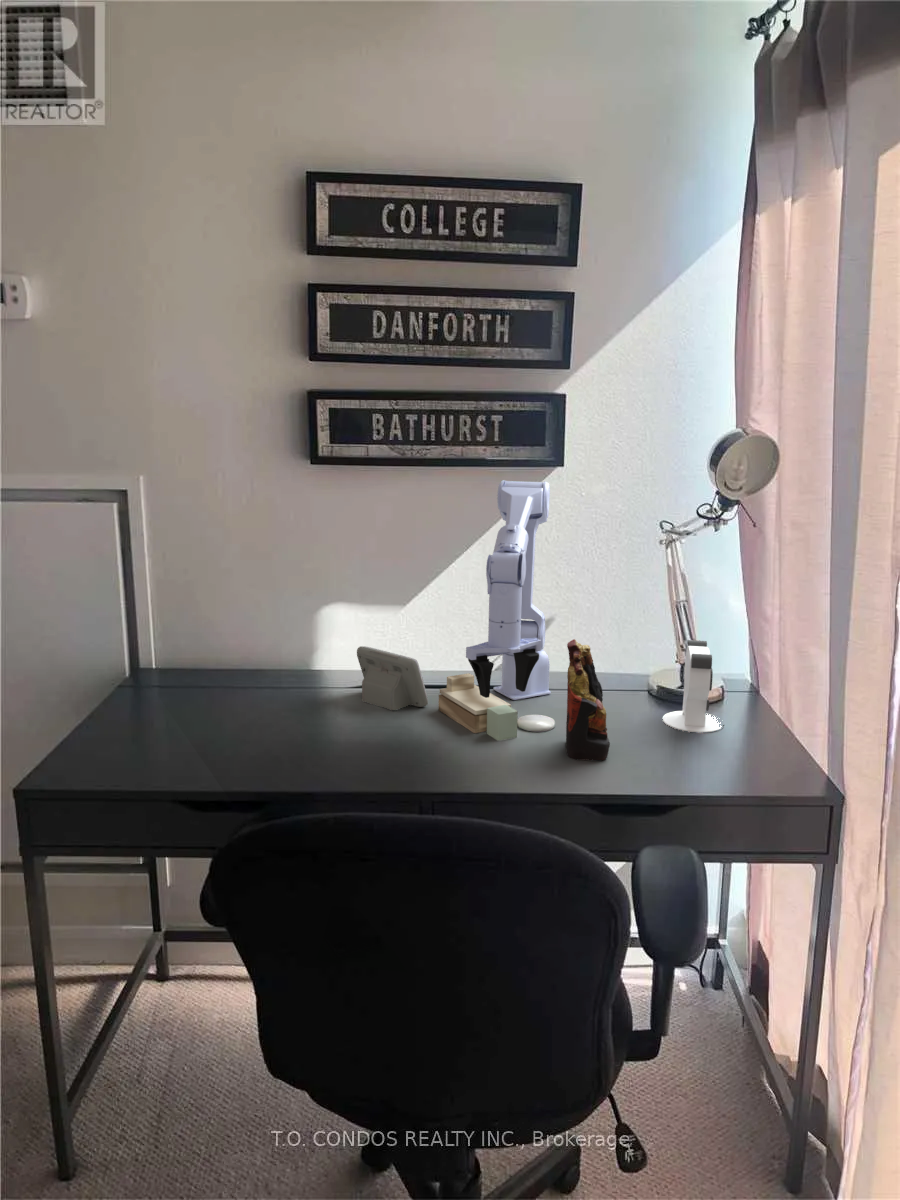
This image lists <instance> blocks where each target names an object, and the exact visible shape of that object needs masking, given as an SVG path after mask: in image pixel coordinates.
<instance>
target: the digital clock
mask: <svg viewBox="0 0 900 1200" xmlns="http://www.w3.org/2000/svg"><path fill="white" fill-rule="evenodd" d="M356 657H357V660H358V663H359V667H360V670H361V674H362V676H363V679H362V682H361V700H362V702H363V701H364V702H363V703H366V702H368V703H367V704H369V703H371V704H370V705H373V704H374V705H373V706H376V705H377V706H376V707H379V706H381V707H380V708H382V707H384V708H383V709H386V708H387V709H386V710H389V709H390V710H389V711H392V710H396V709H399V708H402V707H405V706H407V707H409V706H408V705H410V706H414V707H418V708H423V707H426V706H428V705H429V699H428V697H429V696H428V693H427V690H426V687H425V683H424V679H423V678H424V677H423V676H422V671H421V668H420V665H419V662H418V660H417V659H415V658H413V657H409V656H406V655H401V654H398V653H394V652H391V651H386V650H383V649H379V648H374V647H370V646H363V645H362V646H358V648H357V649H356ZM405 708H406V707H405ZM402 709H403V708H402ZM399 710H400V709H399Z"/></svg>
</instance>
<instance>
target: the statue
mask: <svg viewBox="0 0 900 1200" xmlns="http://www.w3.org/2000/svg"><path fill="white" fill-rule="evenodd" d="M566 646H567V650H568V651H567V652H568V659H569V665H568V668H567V676H566V677H567V685H566V686H567V694H566V695H567V699H566V722H565V723H566V725H565V726H566V727H565V729H566V730H565V732H566V733H565V752H566V755H567V756H568V757H569V758H570V759H572V760H577V759H578V760H577V761H591V760H602V761H606V759H608V756H609V751H610V746H611V745H610V744H611V743H610V739H609V737H608V736H609V735H608V732H607V731H608V728H607V709H606V708H605V706H604V703H603V699H604V698H603V696H604V693H603V687H602V684H601V682H600V681H599V679H598V677H597V673H596V667H595V665H594V658H593V656H592V652H591V647H590V645H588V644H582V643H580V642H579V643H578V641H577V640H576V639H575V638H574V639H572V640H570V641H568V642H567V644H566Z"/></svg>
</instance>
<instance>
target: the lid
mask: <svg viewBox="0 0 900 1200" xmlns="http://www.w3.org/2000/svg"><path fill="white" fill-rule="evenodd" d="M440 694H442V695H444V696H445V697H447V698H448V699H450V700H452V701H453V702H455V703H457V704H458V705H460V706H462V707H463V708H465V709H466V710H468V711H470V712H471V713H473V714H475V715H479V714H485V713H487V708H490V707H495V706H501V705H507V706H509V707H511V708H512V704H510V703H509V702H508V701H505V700H503V699H502V698H500V697H498V696H496V695H495V694H493V693H491V692H490V695H489V697H488V698H485V697H483V696H481V695H480V691H479V686H478V685H476V684H475V675H474V674H471V673H462V674H456V675H449V676H448V675H447V676H446V687H445V688H440V689H439V695H440Z"/></svg>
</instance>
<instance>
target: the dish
mask: <svg viewBox="0 0 900 1200" xmlns="http://www.w3.org/2000/svg"><path fill="white" fill-rule="evenodd" d="M555 725H556V721H555V719H554V718H552V717H549V716H547V715H541V714H526V715H522V716H520V717H518V718H517V728H519V729H521V730H523V731H527V732H532V733H533V732H534V733H535V732H536V733H542V732H549V731H552V730H554V729H555V727H556V726H555Z"/></svg>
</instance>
